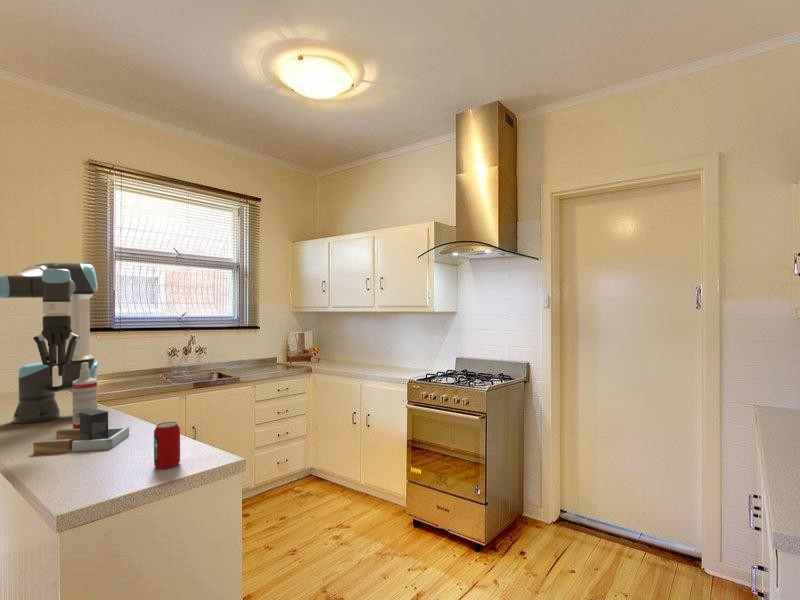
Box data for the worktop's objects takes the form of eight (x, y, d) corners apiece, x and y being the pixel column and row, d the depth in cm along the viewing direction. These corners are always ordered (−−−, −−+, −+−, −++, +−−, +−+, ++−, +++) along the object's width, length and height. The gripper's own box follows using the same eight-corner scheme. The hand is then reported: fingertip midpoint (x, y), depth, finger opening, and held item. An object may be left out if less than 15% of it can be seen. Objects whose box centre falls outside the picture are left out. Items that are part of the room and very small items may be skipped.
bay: (94, 437, 158) (94, 429, 158) (129, 435, 160) (129, 427, 160) (72, 451, 143) (72, 441, 143) (110, 448, 145) (110, 439, 145)
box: (108, 442, 152) (108, 411, 152) (90, 446, 148) (89, 414, 148) (98, 438, 157) (97, 408, 157) (79, 442, 152) (79, 411, 152)
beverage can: (160, 461, 133) (160, 421, 133) (184, 460, 133) (183, 420, 133) (149, 470, 126) (149, 427, 126) (174, 469, 126) (174, 427, 127)
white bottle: (96, 429, 168) (96, 363, 168) (72, 432, 164) (71, 364, 164) (97, 424, 174) (97, 360, 175) (74, 427, 171) (73, 362, 171)
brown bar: (59, 439, 156) (59, 429, 156) (91, 437, 157) (91, 427, 157) (33, 454, 141) (33, 442, 141) (69, 451, 143) (69, 440, 143)
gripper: (27, 315, 144) (28, 388, 144) (72, 315, 147) (73, 386, 147) (41, 315, 151) (41, 384, 151) (84, 314, 154) (84, 382, 154)
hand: (57, 385), depth 149 cm, fingers closed
